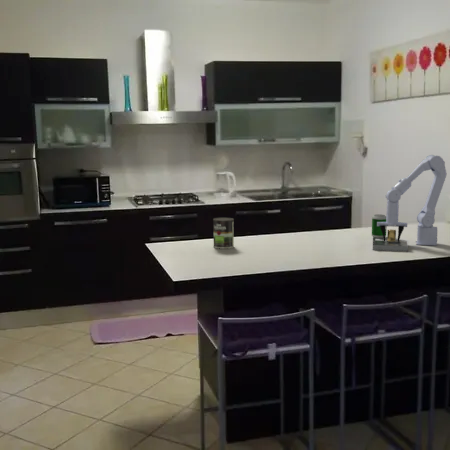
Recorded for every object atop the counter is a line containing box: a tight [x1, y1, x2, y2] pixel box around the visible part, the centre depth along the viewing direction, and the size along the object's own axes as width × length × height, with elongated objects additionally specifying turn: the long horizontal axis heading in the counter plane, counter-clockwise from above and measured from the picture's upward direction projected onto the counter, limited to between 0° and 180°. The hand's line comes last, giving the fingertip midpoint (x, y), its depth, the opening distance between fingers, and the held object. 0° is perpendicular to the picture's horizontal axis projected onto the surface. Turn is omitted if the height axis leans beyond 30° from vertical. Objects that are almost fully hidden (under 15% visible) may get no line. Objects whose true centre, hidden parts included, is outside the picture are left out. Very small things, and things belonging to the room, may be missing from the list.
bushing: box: [386, 229, 397, 241], centre depth 282 cm, size 4×4×7 cm
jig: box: [372, 236, 409, 252], centre depth 272 cm, size 16×12×4 cm
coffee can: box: [212, 217, 235, 250], centre depth 280 cm, size 10×10×14 cm
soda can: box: [371, 214, 388, 240], centre depth 298 cm, size 8×8×12 cm
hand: (391, 240), depth 282 cm, fingers open, 6 cm apart
